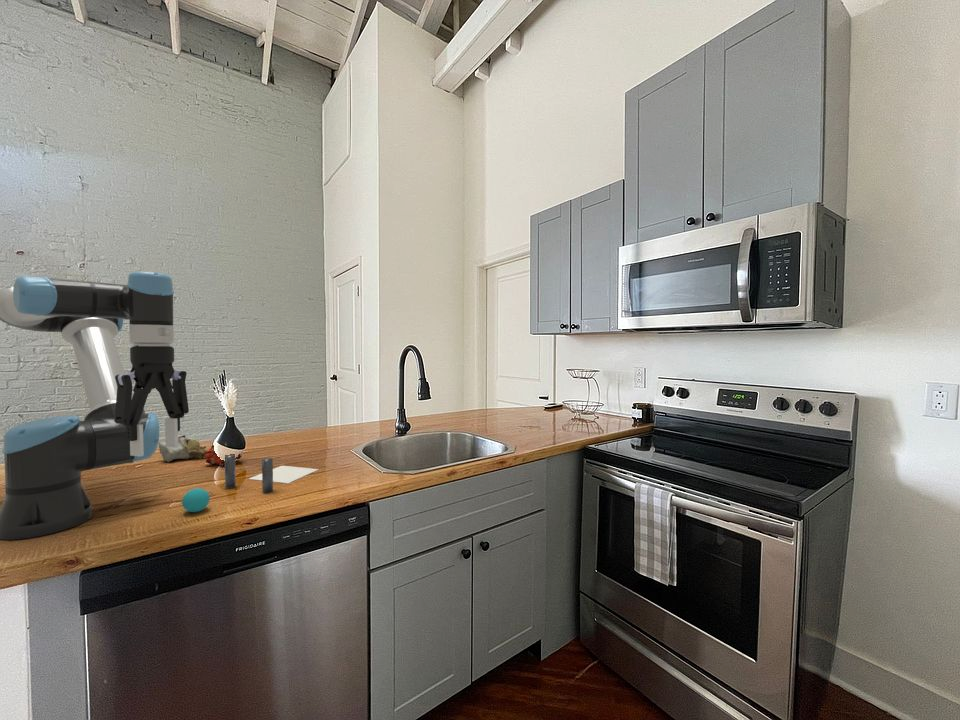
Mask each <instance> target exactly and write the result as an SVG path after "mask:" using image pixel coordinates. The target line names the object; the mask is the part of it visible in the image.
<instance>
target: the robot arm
mask: <svg viewBox="0 0 960 720" xmlns="http://www.w3.org/2000/svg"><path fill="white" fill-rule="evenodd" d="M127 278H128V279H127V280H128V281H127V283H126V284H119V283H109V282H99V281H98V282H96V281H83V280H72V279H63V278H62V279H61V278H54V277H46V276H38V275H36V276H31V275H30V276H29V275H22V276H18V277H16V279H15V280H14V284H13V286H12V287H8V288H5V289H3V290H1V291H0V321H1V322H3V323H5V324H7V325H9V326H12V327H15V328H18V329H22V330H25V331H26V330H27V331H32V332H42V333H43V332H44V333H61V336H62V339H63V340H64V341H65V342H67V343H69V344H72V348H73V352H74V356H75V360H76V362H77V366H78V367H77V368H78V370H79V374H80V378H81V382H82V385H83V388H84V392H85V396H86V399H87V403H88V407H89V411H88V412H87V413H86V414H85V416H84V419H83V420H81V419H80V418H79V416H77V415H75V414H73V415H72V414H71V415H61V416H54V417H53V416H51V417H47V418H41V419H36V420H31V421H28V422H23V423H21V424H20V423H19V424H17V425H14V426H13V427H11V428H9V429H8V430H7V431H6V432H5V433H4V436H3V447H2V454H3V456H4V459H3V460H4V488H5V493H4V494H5V497H4V500H3V503H2V506H1V508H0V540H4V541H5V540H12V541H13V540H24V539H31V538H36V537H41V536H47V535H50V534H55V533H58V532H62V531H65V530H68V529H69V530H70V529H71V528H74V527H77V526H79V525H81V524H83V523H85V522H88V521H89V520H90V519H91V518H92V517H93V505H92V503H91V501H90V499H89V498H88V495H87V494H86V491H85V490H84V487H83V486H82V481H81V480H82V475H81V474H82V472H86V471H90V470H97V469H102V468H107V467H112V466H113V467H114V466H118V465H119V466H120V465H123V464H124V465H126V464H133V463H135V462H139V461H142V460H148V459H150V458H151V457H153V456H154V454H155V453H156V451H157V449H158V447H159V442H160V441H159V439H160V422H159V421H160V420H159V418H158V416H157V414H155V413H153V412H147V413H146V411H145V409H144V408H145V405H146V402H147V400H148V396H149V394H151V392H152V390H154V389H155V390H156V391H157V392H158V393H159V395H160V398H161V400H162V403H163V406H164V408H165V410H166V413H167V415H168V417H166V418H164V433H165V434H164V436H165V438H164V439H165V441H164V442H165V443H166V447H171V448H176V447H178V438H179V432H180V430H181V419H182V418H184V417H185V415H187V414H188V413H189V411H190V410H189V402H188V401H189V400H188V393H187V387H186V386H187V385H186V379H187V371H184V370H175V368H174V366H173V363H175V348H174V346H171V344H173V343H174V342H175V340H174V339H175V337H174V336H175V335H174V333H175V332H174V330H175V329H174V328H175V327H174V293H175V292H174V287H173V279H172V278H171V276H170V275H168V274H167V273H166V274H165V273H161V272H153V271H132V272H130V273H129V274H128V277H127ZM124 320H129V326H128V327H129V343H130V344H133V345H132V346H131V347H130V348H129V354H130V355H129V358H130V359H129V360H130V363H131V365H132V366H131V367H132V368H131V370H130V371H129V372H128V373H125V370H124V367H123V363H122V361H121V357H120V353H119V350H118V347H117V344H116V341H115V338H116V337H117V335H118V334H119V332H120V331H122V328H123V326H124ZM174 344H175V343H174ZM171 379H172V380H171ZM134 382H135V384H134V387H133V383H134Z"/></svg>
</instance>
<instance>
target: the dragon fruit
mask: <svg viewBox="0 0 960 720" xmlns="http://www.w3.org/2000/svg"><path fill="white" fill-rule="evenodd" d="M214 445H215V444H214ZM214 445H211V447H210V448H209V449H207V451H206V452H204V453H203V454H202V456H201V457H200V459H203V458H204V459H205V460H204V462H205V463H206V464H209V465H214V466H219V467H222V466H225V461H224V460H221V459H220V457H218V456H217V454H216V453H215V451H214ZM241 458H242V453H241V454H239V455H238V457H236V458H235V461H237V460H240V459H241Z"/></svg>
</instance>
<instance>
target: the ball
mask: <svg viewBox="0 0 960 720" xmlns="http://www.w3.org/2000/svg"><path fill="white" fill-rule="evenodd" d="M210 498H211V497H210V494H209V492H208V491H207V490H206V489H204V488H201V487H200V488H199V487H198V488H192V489H190V490H188V491H187V492H186V493H185V494H184V495H183V496H182V501H181V504H182V507H183V508H184V510H185V511H187V512H189V513H199V512H201V511H203V510H204V509H206V507H207V506H208V505H209V503H210V501H211V500H210Z"/></svg>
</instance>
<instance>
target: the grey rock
mask: <svg viewBox="0 0 960 720" xmlns="http://www.w3.org/2000/svg"><path fill="white" fill-rule="evenodd" d="M158 448H159V454H160V455H161V456H162V458H163V461H165V462H166V461H167V463H171V462H172V461H173V460H190V459H189V458H191V459H194V458H201V456H202V454H203V453H204V452H206V451H207V450H208V449H207V450H206V448H207V446H201V445H200V441H198V440H197V439H196V438H194V437H187V436H186V435H185V434H184V435H179V436H178V447H176V448H171V447H166V443H165V441H158ZM193 457H194V458H193ZM170 461H171V462H170Z"/></svg>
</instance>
